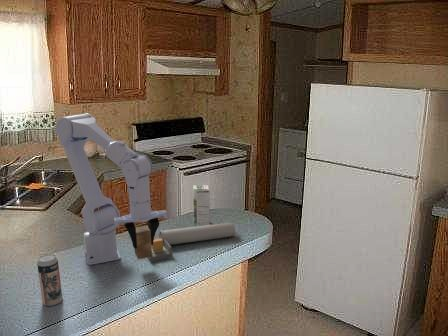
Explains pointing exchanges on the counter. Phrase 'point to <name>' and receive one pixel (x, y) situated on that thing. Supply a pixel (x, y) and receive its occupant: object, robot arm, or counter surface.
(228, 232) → the tube
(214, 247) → the counter surface
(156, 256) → the grey open tray
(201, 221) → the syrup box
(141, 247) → the walnut peg
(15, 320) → the counter surface
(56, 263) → the beer can
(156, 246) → the switch knob
